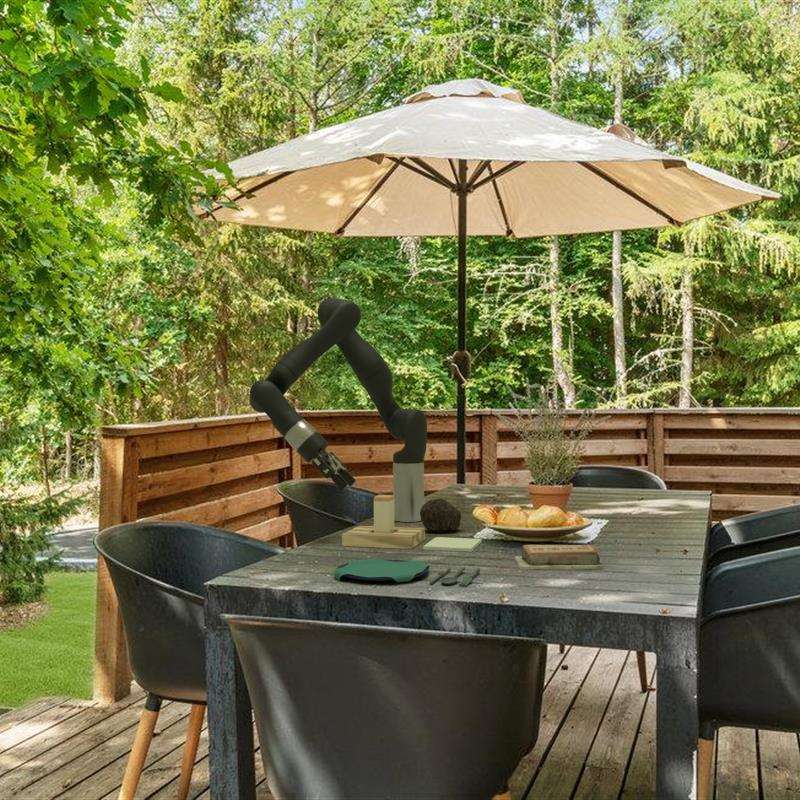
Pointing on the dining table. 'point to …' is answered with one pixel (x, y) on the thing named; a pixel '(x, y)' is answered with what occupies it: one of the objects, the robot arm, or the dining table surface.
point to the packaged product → (558, 557)
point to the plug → (384, 514)
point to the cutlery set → (395, 571)
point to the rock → (440, 516)
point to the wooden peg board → (383, 537)
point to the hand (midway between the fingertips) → (349, 485)
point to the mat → (452, 544)
